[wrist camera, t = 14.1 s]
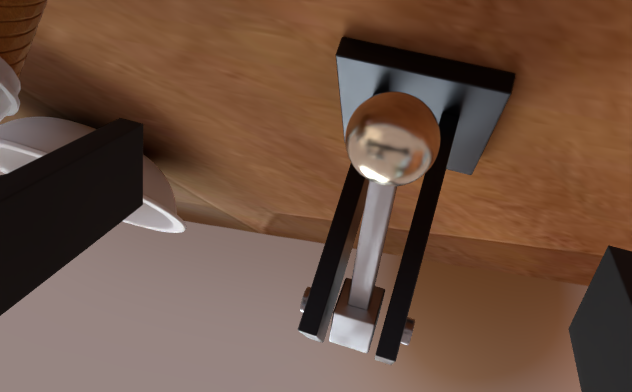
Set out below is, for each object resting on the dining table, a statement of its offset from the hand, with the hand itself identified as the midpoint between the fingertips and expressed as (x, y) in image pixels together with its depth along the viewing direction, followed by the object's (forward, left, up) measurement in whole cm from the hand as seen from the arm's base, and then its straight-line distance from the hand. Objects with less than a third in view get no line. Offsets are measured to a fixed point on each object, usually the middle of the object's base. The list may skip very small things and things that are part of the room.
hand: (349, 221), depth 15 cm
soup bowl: (-22, -46, -12) cm, 53 cm away
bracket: (+4, -14, -12) cm, 19 cm away
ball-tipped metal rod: (+3, -10, -4) cm, 11 cm away
